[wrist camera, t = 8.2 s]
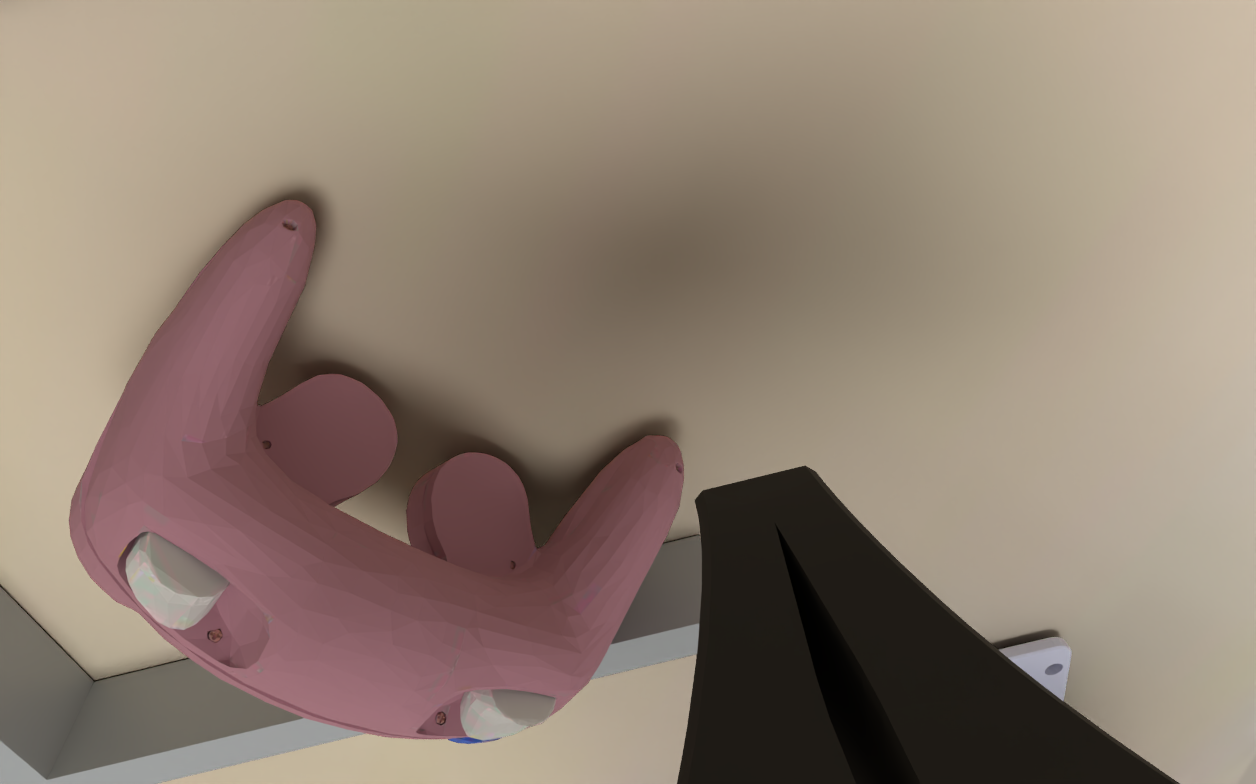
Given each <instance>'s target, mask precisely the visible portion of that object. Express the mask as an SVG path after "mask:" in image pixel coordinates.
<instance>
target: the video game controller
mask: <svg viewBox="0 0 1256 784" xmlns="http://www.w3.org/2000/svg"><path fill="white" fill-rule="evenodd" d="M315 236H316V222H315V219H314V215H313V211H312V209H311V208H309V207H308V206H307V205H306V204H304V203H302V202H300V201H298V200H284V201H282V202H280V203H277V204H275V205H272V206H270V207H268V208H265V209H263V210H262V211H261V212H259V213H258V214H257V215H255V216H254V217H252V218H251V219H250V220H248V221H247V222H246V223H244V224H243V225H242V226H241V228H240V229H239V230H238V231H237V232H236V233H235V234H234V235H233V236H232V237H231V238H230V239H229V240H228V241H227V242H226V243H225V244H224V245H223V246H222V247H221V248H220V249H219V251H218V252H217V253H216V254H215V255H214V257H213V258H212V259H211V260H210V261H209V262H208V264H207V265H206V266H205V267H204V268H203V269H202V271H201V272H200V273H199V274H198V276H197V277H196V279H195V280H194V282H193V283H192V284H191V286H190V287H189V289H188V290H187V292H186V293H185V295H184V296H183V297H182V299H181V300H180V302H179V303H178V305H177V306H176V307H175V309H174V310H173V312H172V313H171V314H170V315H169V317H168V318H167V319H166V321H165V322H164V323H163V324H162V326H161V327H160V328H159V329H158V331H157V332H156V333H155V335H154V337H153V338H152V340H151V342H150V344H149V346H148V347H147V349H146V351H145V353H144V354H143V356H142V358H141V360H140V361H139V363H138V365H137V367H136V369H135V370H134V372H133V374H132V376H131V377H130V379H129V381H128V383H127V385H126V387H125V389H124V392H123V394H122V396H121V398H120V400H119V402H118V404H117V406H116V407H115V409H114V411H113V413H112V415H111V417H110V419H109V421H108V423H107V425H106V427H105V429H104V431H103V433H102V435H101V437H100V439H99V441H98V443H97V445H96V447H95V450H94V452H93V454H92V456H91V459H90V461H89V463H88V465H87V468H86V470H85V472H84V474H83V476H82V478H81V480H80V482H79V484H78V486H77V488H76V491H75V493H74V496H73V498H72V501H71V509H70V516H69V526H70V536H71V539H72V542H73V545H74V548H75V551H76V553H77V556H78V558H79V560H80V561H81V563H82V565H83V566H84V568H85V570H86V571H87V573H88V574H89V576H90V578H91V579H92V580H93V581H94V582H95V583H96V584H97V585H98V586H99V587H100V588H101V589H102V590H104V591H105V592H106V593H107V594H108V595H109V596H110V597H111V598H112V599H114V600H115V601H116V602H118V603H120V604H122V605H124V606H126V607H129V608H131V609H133V610H134V611H136V612H137V613H139V614H140V615H141V616H142V617H143V618H144V619H145V620H146V621H147V622H148V623H149V624H150V625H151V626H152V627H153V628H154V629H155V630H156V631H157V632H158V633H159V634H160V635H161V636H162V637H163V638H164V639H165V640H166V641H168V642H169V643H170V644H172V645H173V646H174V647H176V648H177V649H178V650H179V651H181V652H182V653H183V654H185V655H186V656H187V657H189V658H190V659H191V660H192V661H194V662H195V663H197V664H198V665H200V666H201V667H203V668H204V669H206V670H207V671H209V672H210V673H212V674H213V675H215V676H216V677H218V678H219V679H221V680H223V681H225V682H227V683H229V684H231V685H233V686H235V687H237V688H239V689H241V690H243V691H245V692H247V693H249V694H251V695H253V696H255V697H257V698H259V699H261V700H263V701H264V702H267V703H269V704H272V705H274V706H276V707H279V708H281V709H284V710H286V711H288V712H291V713H293V714H296V715H298V716H301V717H303V718H305V719H309V720H313V721H317V722H320V723H324V724H328V725H332V726H336V727H339V728H343V729H347V730H352V731H357V732H362V733H367V734H372V735H378V736H383V737H391V738H405V739H448V740H450V741H453V742H457V743H466V744H471V743H482V742H490V741H495V740H498V739H500V738H503V737H506V736H510V735H514V734H516V733H518V732H520V731H522V730H523V729H525V728H528V727H532V726H535V725H539V724H542V723H543V722H544V721H545V720H546V719H547V718H548V717H550V716H551V715H553V714H554V713H555V712H557V711H558V710H560V709H561V708H562V707H563V706H564V705H565V704H566V703H567V702H569V701H570V700H571V699H572V698H573V697H574V696H575V695H576V694H577V693H578V692H579V691H580V690H581V689H582V688H583V687H584V686H586V685H587V684H588V682H589V681H590V679H591V678H592V676H593V675H594V673H595V672H596V670H597V668H598V667H599V665H600V663H601V662H602V660H603V658H604V656H605V654H606V652H607V650H608V648H609V646H610V645H611V643H612V641H613V639H614V637H615V635H616V633H617V631H618V629H619V627H620V625H621V623H622V621H623V619H624V617H625V615H626V613H627V611H628V609H629V607H630V605H631V603H632V601H633V600H634V598H635V596H636V594H637V592H638V590H639V588H640V586H641V584H642V582H643V580H644V578H645V576H646V574H647V573H648V571H649V569H650V567H651V565H652V563H653V561H654V559H655V557H656V556H657V554H658V552H659V550H660V548H661V546H662V544H663V542H664V540H665V539H666V537H667V534H668V532H669V530H670V527H671V525H672V523H673V520H674V518H675V516H676V513H677V511H678V509H679V505H680V499H681V493H682V487H683V481H684V464H683V460H682V455H681V451H680V449H679V447H678V445H677V444H676V443H675V442H674V441H673V440H672V439H670V438H669V437H667V436H660V435H648V436H645V437H643V438H642V439H641V440H640V441H638V442H636V443H634V444H633V445H631V446H629V447H627V448H626V449H624V450H623V451H622V452H621V453H619V454H618V455H617V456H616V457H615V458H614V459H613V460H612V461H611V462H610V463H609V464H608V465H607V466H605V467H604V468H603V469H602V470H601V471H600V472H599V473H598V475H597V476H596V477H595V478H594V480H593V481H592V482H591V484H590V485H589V486H588V487H587V489H586V490H585V491H584V492H583V494H582V495H581V496H580V497H579V499H578V500H577V501H576V502H575V504H574V505H573V506H572V508H571V509H570V510H569V511H568V513H567V514H566V515H565V516H564V518H563V519H562V521H561V522H560V524H559V525H558V527H557V528H556V529H555V531H554V532H553V534H552V535H551V537H550V538H549V540H548V541H547V543H546V544H545V545H544V546H542V547H540V548H536V546H535V543H534V539H533V534H532V530H531V523H530V515H529V507H528V499H527V495H526V492H525V489H524V486H523V484H522V482H521V480H520V478H519V476H518V475H517V474H516V473H515V472H514V470H513V469H512V468H511V467H510V466H508V465H507V464H506V463H505V462H503V461H502V460H500V459H498V458H496V457H493V456H491V455H488V454H484V453H478V452H468V453H463V454H459V455H457V456H455V457H453V458H451V459H450V460H448V461H446V462H444V463H443V464H441V465H439V466H438V467H436V468H434V469H432V470H431V471H429V472H427V473H426V474H424V475H423V476H422V477H421V478H420V479H419V480H418V481H417V483H416V484H415V485H414V487H413V489H412V491H411V493H410V495H409V499H408V504H407V510H406V514H407V532H408V536H409V540H410V544H411V546H410V545H408V544H406V543H404V542H402V541H399V540H397V539H395V538H393V537H391V536H389V535H387V534H384V533H382V532H380V531H379V530H377V529H375V528H373V527H371V526H369V525H367V524H365V523H363V522H361V521H359V520H358V519H356V518H354V517H352V516H350V515H348V514H346V513H344V512H342V511H340V510H338V509H336V508H335V506H337V505H338V504H340V503H342V502H343V501H345V500H347V499H349V498H351V497H353V496H355V495H358V494H359V493H361V492H362V491H364V490H365V489H367V488H368V487H370V486H371V485H373V484H374V483H376V482H377V481H378V480H379V479H380V478H381V476H382V475H383V474H384V473H385V472H386V470H387V469H388V468H389V466H390V464H391V463H392V461H393V458H394V455H395V452H396V448H397V443H398V438H397V429H396V425H395V421H394V418H393V417H392V415H391V413H390V411H389V409H388V408H387V407H386V405H385V404H384V402H383V401H382V399H381V398H380V397H379V396H377V395H376V394H375V393H374V392H373V391H372V390H371V389H369V388H368V387H367V386H366V385H364V384H363V383H361V382H359V381H357V380H355V379H353V378H350V377H347V376H345V375H341V374H324V375H317V376H315V377H313V378H311V379H309V380H307V381H305V382H303V383H301V384H299V385H298V386H296V387H295V388H293V389H291V390H290V391H288V392H286V393H285V394H283V395H281V396H280V397H278V398H276V399H274V400H272V401H270V402H268V403H266V404H264V405H262V406H259V405H257V400H258V396H259V393H260V390H261V386H262V383H263V380H264V377H265V374H266V370H267V367H268V364H269V361H270V359H271V357H272V355H273V353H274V351H275V348H276V346H277V344H278V342H279V340H280V338H281V336H282V334H283V331H284V329H285V327H286V325H287V323H288V321H289V319H290V316H291V314H292V312H293V310H294V308H295V306H296V304H297V302H298V299H299V297H300V295H301V293H302V291H303V289H304V287H305V284H306V280H307V275H308V271H309V267H310V263H311V259H312V255H313V251H314V247H315Z"/></svg>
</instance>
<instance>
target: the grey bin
mask: <svg viewBox="0 0 1256 784" xmlns="http://www.w3.org/2000/svg"><path fill="white" fill-rule="evenodd" d="M701 592H702V548H701V541H700V538H699V535H697V536H693V537H689V538H685V539H681V540H677V541H673V542H668V543H664V544H662V546H661V548H660V550H659V552H658V554H657V556H656V557H655V559H654V561H653V563H652V565H651V567H650V569H649V571H648V573H647V574H646V576H645V578H644V580H643V582H642V584H641V586H640V588H639V590H638V592H637V594H636V596H635V598H634V600H633V601H632V603H631V605H630V607H629V609H628V611H627V613H626V615H625V617H624V619H623V621H622V623H621V625H620V627H619V629H618V631H617V633H616V635H615V637H614V639H613V641H612V643H611V645H610V646H609V648H608V650H607V652H606V654H605V656H604V658H603V660H602V662H601V663H600V665H599V667H598V668H597V670H596V672H595V673H594V675H593V676H592V678H591V679H596V678H600V677H604V676H608V675H612V674H616V673H621V672H625V671H629V670H633V669H637V668H641V667H646V666H650V665H654V664H658V663H662V662H666V661H671V660H675V659H679V658H683V657H687V656H691V655H696V654H697V649H698V637H699V622H700V607H701ZM591 679H590V680H591ZM362 734H366V733H362V732H357V731H352V730H347V729H343V728H339V727H336V726H332V725H328V724H324V723H320V722H317V721H313V720H309V719H305V718H303V717H301V716H298V715H296V714H293V713H291V712H288V711H286V710H284V709H281V708H279V707H276V706H274V705H272V704H269V703H267V702H264V701H263V700H261V699H259V698H257V697H255V696H253V695H251V694H249V693H247V692H245V691H243V690H241V689H239V688H237V687H235V686H233V685H231V684H229V683H227V682H225V681H223V680H221V679H219V678H218V677H216V676H215V675H213V674H212V673H210V672H209V671H207V670H206V669H204V668H203V667H201V666H200V665H198V664H197V663H195V662H194V661H192V660H191V659H186V660H182V661H178V662H174V663H170V664H166V665H161V666H157V667H153V668H149V669H145V670H141V671H137V672H133V673H129V674H124V675H120V676H116V677H112V678H108V679H104V680H100V681H96V682H94V681H93V680H92V679H91V678H90V677H89V676H88V675H87V674H86V673H85V672H84V671H83V670H82V669H81V668H80V667H79V666H78V665H77V664H76V663H75V662H74V661H73V660H72V659H71V658H70V657H69V656H68V655H67V654H66V653H65V652H64V651H63V650H62V649H61V648H60V647H59V646H58V645H57V644H56V643H55V642H54V641H53V640H52V639H51V638H50V637H49V636H48V635H47V634H46V633H45V632H44V630H43V629H42V628H41V627H40V626H39V625H38V624H37V623H36V622H35V621H34V620H33V619H32V618H31V617H30V616H29V615H28V614H27V613H26V612H25V611H24V610H23V609H22V608H21V607H20V606H19V605H18V604H17V603H16V602H15V601H14V600H13V599H12V598H11V597H10V596H9V595H8V594H7V593H6V592H5V591H4V590H3V589H2V588H1V587H0V784H157V783H162V782H166V781H170V780H174V779H178V778H182V777H187V776H191V775H195V774H199V773H203V772H207V771H212V770H216V769H220V768H224V767H228V766H232V765H237V764H241V763H245V762H249V761H253V760H258V759H262V758H266V757H270V756H274V755H278V754H283V753H287V752H291V751H295V750H299V749H303V748H308V747H312V746H316V745H320V744H324V743H328V742H333V741H337V740H341V739H345V738H349V737H353V736H358V735H362Z"/></svg>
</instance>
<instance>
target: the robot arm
mask: <svg viewBox="0 0 1256 784" xmlns="http://www.w3.org/2000/svg"><path fill="white" fill-rule="evenodd" d="M695 503H696V508H697V512H698V517H699V524H700V533H701V548H702V592H701V607H700V622H699V637H698V649H697V659H696V667H695V674H694V682H693V689H692V696H691V704H690V711H689V718H688V726H687V732H686V738H685V744H684V749H683V755H682V761H681V766H680V771H679V776H678V782H677V784H1180V783H1178V782H1177V781H1175V780H1174V779H1172V778H1171V777H1169V776H1168V775H1166V774H1165V773H1163V772H1162V771H1160V770H1159V769H1158V768H1156V767H1155V766H1153V765H1152V764H1150V763H1149V762H1147V761H1146V760H1145V759H1143V758H1142V757H1140V756H1139V755H1137V754H1136V753H1135V752H1133V751H1132V750H1130V749H1129V748H1127V747H1126V746H1124V745H1123V744H1122V743H1120V742H1119V741H1117V740H1116V739H1114V738H1113V737H1111V736H1110V735H1109V734H1107V733H1106V732H1104V731H1103V730H1102V729H1100V728H1099V727H1098V726H1096V725H1095V724H1094V723H1092V722H1091V721H1090V720H1088V719H1087V718H1085V717H1084V716H1083V715H1081V714H1080V713H1079V712H1077V711H1076V710H1075V709H1073V708H1072V707H1070V706H1069V705H1068V704H1066V703H1065V702H1064V697H1065V691H1066V685H1067V679H1068V673H1069V667H1070V661H1071V655H1072V651H1071V648H1070V647H1069V645H1068V644H1067V642H1066V641H1065V640H1064V639H1063V638H1059V637H1049V638H1045V639H1041V640H1036V641H1032V642H1028V643H1024V644H1020V645H1015V646H1011V647H1007V648H1003V649H999V650H998V649H997V648H996V647H994V646H993V645H992V644H991V643H990V642H988V641H987V640H986V639H985V638H984V637H982V636H981V635H980V634H979V633H978V632H976V631H975V630H974V629H973V628H972V627H970V626H969V625H968V624H967V623H966V622H965V621H963V620H962V619H961V618H960V617H959V616H958V615H957V614H956V613H954V612H953V611H952V610H951V609H950V608H949V607H948V606H946V605H945V604H944V603H943V602H942V601H941V600H940V599H939V598H938V597H937V596H935V595H934V594H933V593H932V592H931V591H930V590H929V589H928V588H927V587H926V586H925V585H924V584H923V583H921V582H920V581H919V580H918V579H917V578H916V577H915V576H914V575H913V574H912V573H911V572H910V571H909V570H907V569H906V568H905V567H904V566H903V565H902V564H901V563H900V562H899V561H898V560H897V559H896V558H895V557H894V556H893V555H892V554H891V553H890V552H889V551H888V550H887V549H886V548H885V547H884V546H883V545H882V544H881V543H880V542H879V541H878V540H877V539H876V538H875V537H874V536H873V535H872V534H871V533H870V532H869V531H868V530H867V529H866V528H865V527H864V526H863V525H862V524H861V523H860V522H859V521H858V520H857V519H856V517H855V516H854V515H853V514H852V513H851V512H850V511H849V510H848V509H847V508H846V507H845V506H844V504H843V503H842V502H841V501H840V500H839V499H838V498H837V497H836V496H835V494H834V493H833V492H832V491H831V490H830V489H829V487H828V486H827V485H826V484H825V483H824V482H823V480H822V479H821V478H820V477H819V475H818V474H817V473H816V472H815V471H814V470H812V469H810V468H808V467H807V466H802V467H798V468H794V469H790V470H785V471H781V472H777V473H773V474H769V475H765V476H761V477H757V478H752V479H748V480H744V481H740V482H736V483H732V484H728V485H724V486H719V487H715V488H711V489H707V490H703V491H702V492H701V493H700V494H699V496H698V497H697V498H696V499H695Z"/></svg>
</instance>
